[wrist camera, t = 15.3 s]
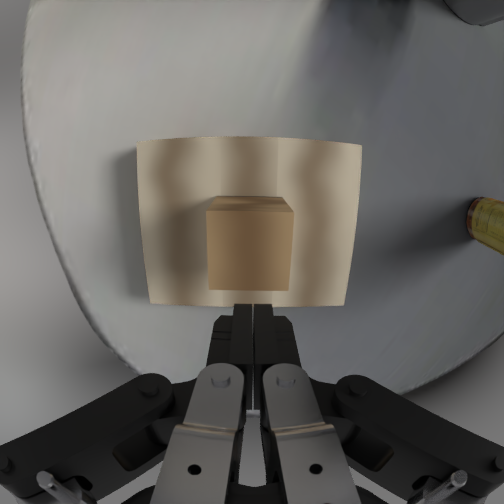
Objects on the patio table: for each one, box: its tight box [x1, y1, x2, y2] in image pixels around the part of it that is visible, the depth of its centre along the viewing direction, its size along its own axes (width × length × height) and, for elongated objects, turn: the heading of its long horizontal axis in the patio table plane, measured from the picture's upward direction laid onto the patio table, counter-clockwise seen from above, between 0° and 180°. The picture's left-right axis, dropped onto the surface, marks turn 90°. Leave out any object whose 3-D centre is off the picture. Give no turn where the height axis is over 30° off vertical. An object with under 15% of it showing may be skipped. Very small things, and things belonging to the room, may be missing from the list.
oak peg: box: [206, 196, 294, 291], centre depth 23 cm, size 6×6×10 cm
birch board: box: [137, 137, 362, 307], centre depth 26 cm, size 20×16×4 cm
